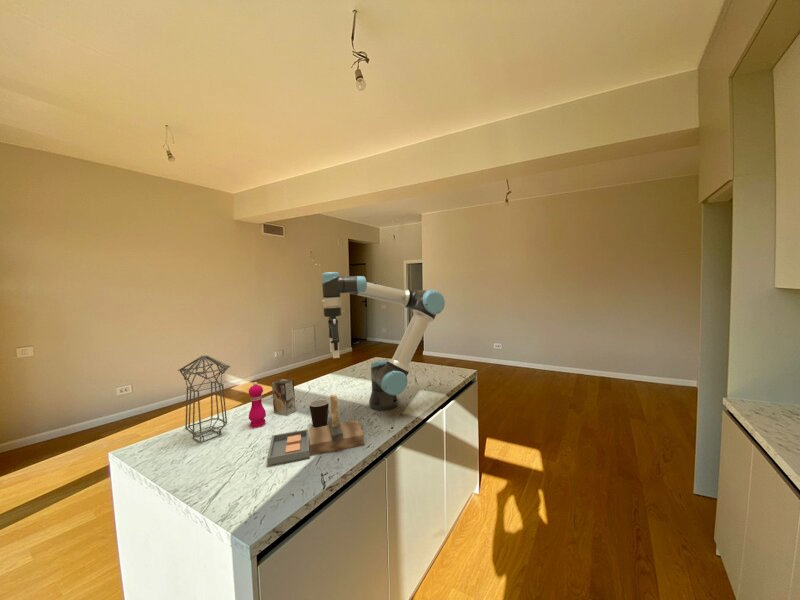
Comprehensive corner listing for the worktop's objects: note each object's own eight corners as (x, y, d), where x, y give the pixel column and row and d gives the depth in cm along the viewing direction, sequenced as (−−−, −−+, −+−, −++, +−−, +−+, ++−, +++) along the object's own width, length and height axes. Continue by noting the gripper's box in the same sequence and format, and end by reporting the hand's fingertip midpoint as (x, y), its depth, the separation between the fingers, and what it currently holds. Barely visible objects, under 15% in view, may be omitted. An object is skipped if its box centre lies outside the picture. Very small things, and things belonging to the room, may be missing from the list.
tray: (308, 436, 127) (308, 429, 127) (309, 458, 110) (309, 450, 110) (272, 442, 123) (272, 435, 123) (267, 466, 106) (267, 458, 106)
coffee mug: (324, 429, 133) (323, 406, 133) (306, 428, 135) (305, 406, 134) (335, 418, 144) (334, 397, 144) (318, 417, 146) (317, 396, 146)
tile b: (286, 445, 115) (286, 450, 115) (285, 452, 110) (285, 457, 110) (300, 443, 117) (300, 448, 117) (300, 449, 112) (300, 454, 112)
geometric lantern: (179, 439, 130) (175, 357, 130) (219, 426, 142) (216, 351, 142) (193, 449, 120) (189, 360, 120) (235, 434, 133) (231, 353, 133)
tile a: (287, 436, 122) (287, 441, 122) (286, 442, 117) (287, 447, 117) (300, 434, 124) (301, 439, 124) (300, 440, 119) (300, 445, 119)
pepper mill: (269, 422, 143) (267, 380, 142) (258, 429, 136) (255, 384, 135) (257, 420, 145) (255, 379, 145) (245, 427, 138) (242, 384, 138)
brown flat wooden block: (357, 429, 131) (357, 420, 131) (364, 444, 118) (363, 434, 118) (309, 438, 125) (309, 428, 125) (310, 455, 112) (309, 444, 112)
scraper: (338, 422, 130) (336, 389, 129) (343, 439, 115) (341, 401, 114) (328, 424, 129) (327, 390, 128) (332, 441, 113) (330, 403, 113)
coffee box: (296, 410, 156) (294, 379, 155) (287, 415, 150) (285, 383, 149) (282, 408, 159) (280, 378, 159) (273, 413, 153) (271, 382, 153)
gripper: (321, 306, 146) (324, 350, 147) (325, 309, 122) (328, 361, 123) (337, 305, 148) (340, 349, 149) (344, 308, 124) (346, 359, 125)
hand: (334, 354), depth 136 cm, fingers open, 13 cm apart
